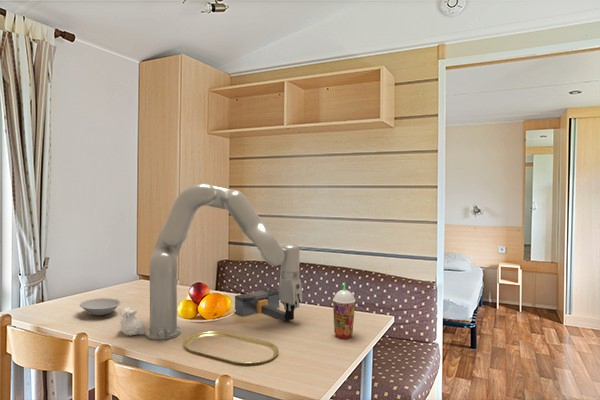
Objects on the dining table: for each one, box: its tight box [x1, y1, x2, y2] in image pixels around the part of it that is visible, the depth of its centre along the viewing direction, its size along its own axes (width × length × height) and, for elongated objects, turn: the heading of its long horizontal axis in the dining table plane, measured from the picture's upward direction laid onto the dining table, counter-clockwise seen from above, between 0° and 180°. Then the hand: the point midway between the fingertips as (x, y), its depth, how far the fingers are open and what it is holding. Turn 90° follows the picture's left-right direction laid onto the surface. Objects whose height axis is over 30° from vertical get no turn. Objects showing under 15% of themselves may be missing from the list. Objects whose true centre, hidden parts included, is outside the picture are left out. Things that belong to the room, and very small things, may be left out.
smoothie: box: [332, 282, 356, 340], centre depth 152 cm, size 8×8×20 cm
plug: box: [255, 298, 289, 323], centre depth 175 cm, size 20×4×5 cm, turn 42°
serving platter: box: [183, 330, 279, 366], centre depth 139 cm, size 19×35×2 cm, turn 62°
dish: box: [79, 297, 122, 316], centre depth 172 cm, size 18×14×5 cm
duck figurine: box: [119, 306, 146, 337], centre depth 151 cm, size 12×8×11 cm
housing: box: [234, 288, 280, 317], centre depth 182 cm, size 6×20×8 cm, turn 133°
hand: (289, 319), depth 166 cm, fingers closed
